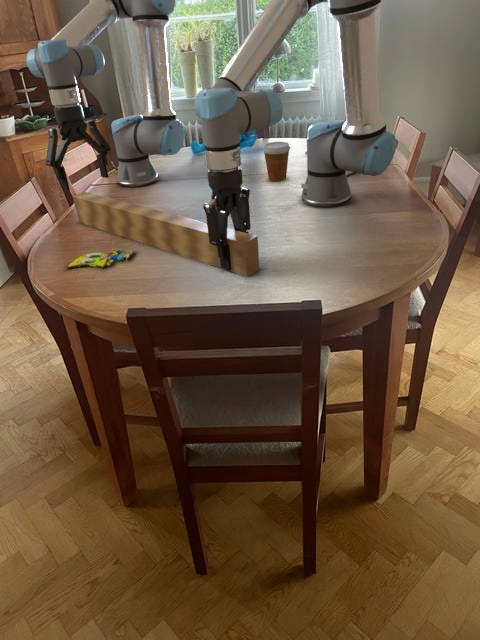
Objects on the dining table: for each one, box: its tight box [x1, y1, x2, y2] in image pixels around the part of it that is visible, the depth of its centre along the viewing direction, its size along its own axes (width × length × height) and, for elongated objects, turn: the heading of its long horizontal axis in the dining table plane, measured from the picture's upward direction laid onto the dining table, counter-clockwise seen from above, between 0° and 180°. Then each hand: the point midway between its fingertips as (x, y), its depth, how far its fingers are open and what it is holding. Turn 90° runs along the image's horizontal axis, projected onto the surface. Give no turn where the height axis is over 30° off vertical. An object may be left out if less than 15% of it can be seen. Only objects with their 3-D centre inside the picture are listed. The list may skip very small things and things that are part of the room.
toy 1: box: [66, 249, 134, 270], centre depth 125 cm, size 10×1×15 cm
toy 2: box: [189, 130, 258, 155], centre depth 209 cm, size 17×11×30 cm
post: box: [72, 191, 260, 277], centre depth 130 cm, size 68×5×8 cm, turn 50°
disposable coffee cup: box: [262, 141, 291, 183], centre depth 169 cm, size 10×10×12 cm
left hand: (86, 183), depth 142 cm, fingers open, 13 cm apart
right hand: (233, 264), depth 116 cm, fingers closed on post, 5 cm apart
